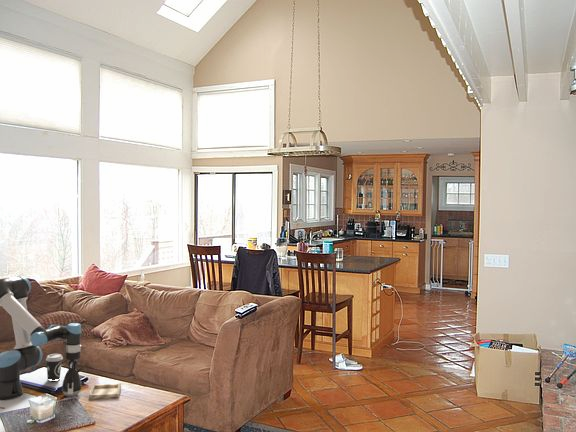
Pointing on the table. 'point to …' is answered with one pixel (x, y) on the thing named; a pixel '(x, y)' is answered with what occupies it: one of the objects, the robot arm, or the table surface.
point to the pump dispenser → (75, 384)
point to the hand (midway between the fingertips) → (71, 390)
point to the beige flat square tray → (105, 391)
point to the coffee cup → (54, 366)
